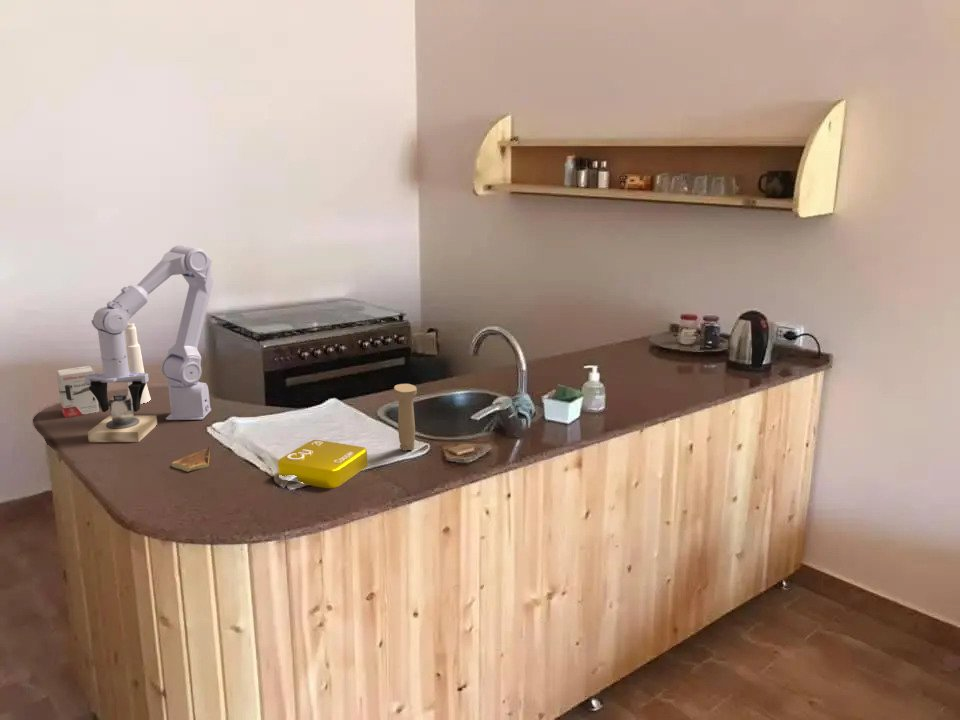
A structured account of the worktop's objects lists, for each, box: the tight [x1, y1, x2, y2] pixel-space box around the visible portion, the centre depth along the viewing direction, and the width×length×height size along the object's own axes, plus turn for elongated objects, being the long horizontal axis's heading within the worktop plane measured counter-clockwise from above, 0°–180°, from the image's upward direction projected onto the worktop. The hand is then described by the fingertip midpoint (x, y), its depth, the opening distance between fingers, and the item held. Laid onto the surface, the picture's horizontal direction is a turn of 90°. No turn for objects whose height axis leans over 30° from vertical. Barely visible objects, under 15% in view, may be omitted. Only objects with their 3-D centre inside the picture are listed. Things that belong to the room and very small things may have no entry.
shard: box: [171, 446, 211, 473], centre depth 188 cm, size 11×8×2 cm
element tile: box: [277, 439, 368, 489], centre depth 182 cm, size 15×15×5 cm
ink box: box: [56, 365, 100, 418], centre depth 220 cm, size 8×5×12 cm, turn 123°
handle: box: [393, 383, 418, 451], centre depth 193 cm, size 5×6×15 cm
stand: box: [87, 414, 158, 443], centre depth 206 cm, size 12×12×3 cm
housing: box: [108, 392, 135, 426], centre depth 205 cm, size 5×5×7 cm
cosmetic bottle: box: [124, 322, 152, 405], centre depth 228 cm, size 6×6×22 cm
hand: (121, 410), depth 205 cm, fingers open, 7 cm apart
